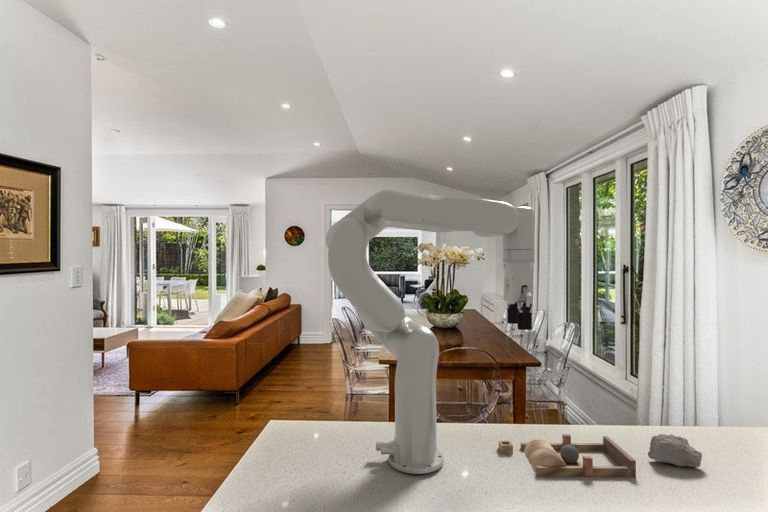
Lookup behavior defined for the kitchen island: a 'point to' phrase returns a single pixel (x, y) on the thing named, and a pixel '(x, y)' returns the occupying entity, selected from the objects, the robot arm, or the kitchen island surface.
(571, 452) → the ball
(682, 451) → the stone
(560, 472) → the wooden roller rack
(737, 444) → the kitchen island surface
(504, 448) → the tee
